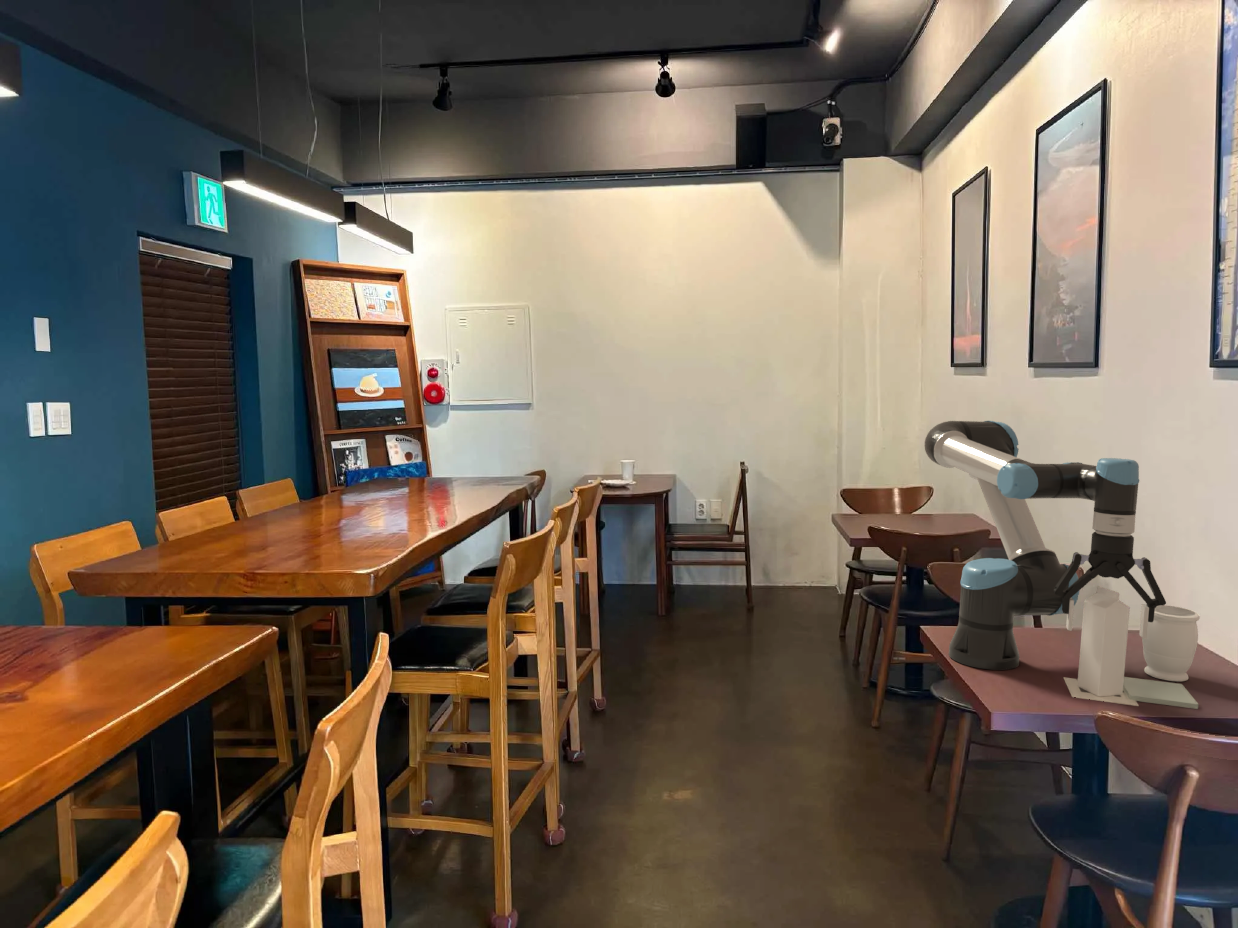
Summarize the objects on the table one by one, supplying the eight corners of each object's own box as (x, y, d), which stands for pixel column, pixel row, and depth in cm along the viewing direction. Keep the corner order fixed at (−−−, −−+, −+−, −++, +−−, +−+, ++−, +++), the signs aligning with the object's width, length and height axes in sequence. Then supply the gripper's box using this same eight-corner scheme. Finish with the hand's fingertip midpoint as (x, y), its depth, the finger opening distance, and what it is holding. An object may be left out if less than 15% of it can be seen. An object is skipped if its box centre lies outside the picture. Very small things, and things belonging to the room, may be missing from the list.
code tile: (1071, 701, 172) (1072, 696, 172) (1063, 681, 184) (1063, 676, 184) (1138, 710, 168) (1138, 705, 168) (1125, 689, 179) (1125, 684, 179)
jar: (1195, 687, 179) (1201, 620, 177) (1138, 677, 184) (1144, 612, 183) (1192, 673, 188) (1198, 608, 186) (1138, 664, 193) (1144, 601, 192)
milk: (1100, 684, 179) (1109, 584, 177) (1123, 695, 174) (1132, 592, 171) (1076, 686, 178) (1084, 585, 176) (1098, 696, 172) (1107, 593, 170)
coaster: (1129, 699, 171) (1130, 695, 171) (1117, 680, 183) (1117, 675, 182) (1198, 708, 167) (1198, 704, 167) (1181, 688, 178) (1181, 683, 178)
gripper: (1048, 531, 173) (1041, 630, 175) (1188, 540, 164) (1180, 645, 166) (1043, 525, 180) (1037, 621, 182) (1178, 534, 171) (1169, 634, 173)
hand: (1105, 632), depth 174 cm, fingers open, 13 cm apart
